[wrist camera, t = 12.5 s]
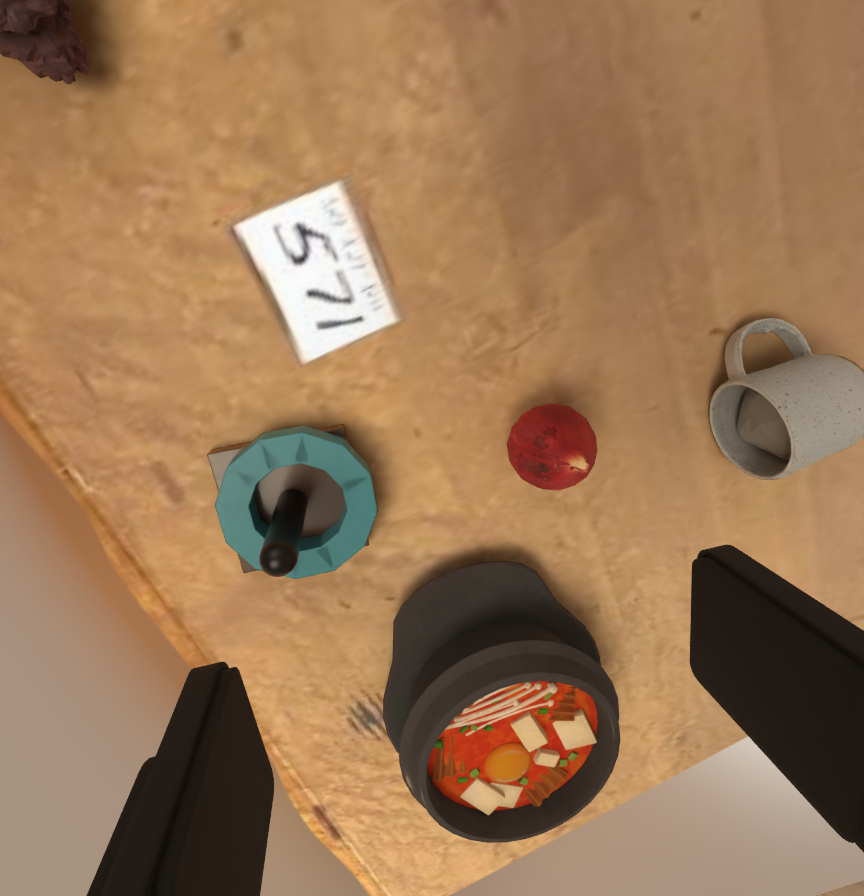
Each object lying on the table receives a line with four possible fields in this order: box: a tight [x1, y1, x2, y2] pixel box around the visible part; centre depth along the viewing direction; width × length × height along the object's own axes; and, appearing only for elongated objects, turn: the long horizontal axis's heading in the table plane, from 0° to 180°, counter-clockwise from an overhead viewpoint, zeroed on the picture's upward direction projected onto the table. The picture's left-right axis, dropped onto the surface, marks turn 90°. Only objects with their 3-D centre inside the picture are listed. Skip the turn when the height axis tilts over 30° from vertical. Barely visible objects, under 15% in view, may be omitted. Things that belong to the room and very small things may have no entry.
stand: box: [207, 424, 369, 577], centre depth 31 cm, size 9×9×10 cm
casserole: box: [383, 561, 620, 843], centre depth 39 cm, size 25×19×8 cm
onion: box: [507, 404, 597, 490], centre depth 34 cm, size 6×6×8 cm
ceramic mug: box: [709, 318, 864, 480], centre depth 36 cm, size 11×8×8 cm
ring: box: [215, 425, 378, 579], centre depth 34 cm, size 10×10×2 cm
